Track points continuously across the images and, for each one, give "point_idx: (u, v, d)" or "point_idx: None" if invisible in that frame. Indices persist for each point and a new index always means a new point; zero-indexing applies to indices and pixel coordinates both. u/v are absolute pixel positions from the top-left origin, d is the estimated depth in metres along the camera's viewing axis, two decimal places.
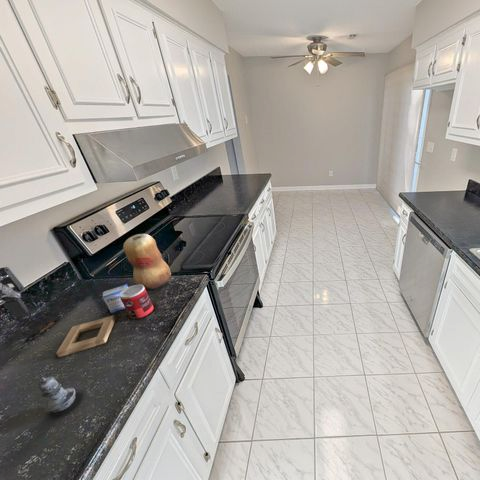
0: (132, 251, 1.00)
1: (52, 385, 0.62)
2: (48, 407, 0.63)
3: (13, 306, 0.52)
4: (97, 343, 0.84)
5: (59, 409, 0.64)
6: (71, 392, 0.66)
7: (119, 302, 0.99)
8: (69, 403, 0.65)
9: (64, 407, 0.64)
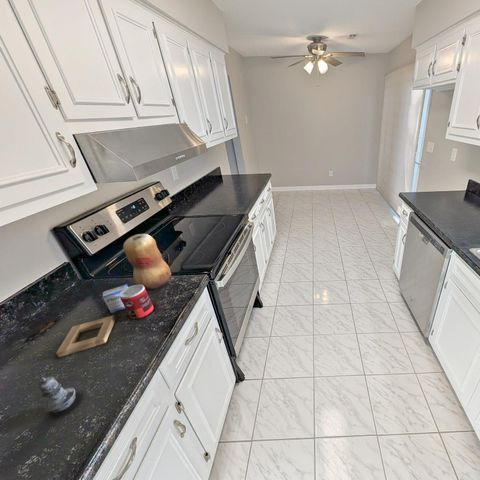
0: (132, 251, 1.00)
1: (52, 385, 0.62)
2: (48, 407, 0.63)
3: None
4: (97, 343, 0.84)
5: (59, 409, 0.64)
6: (71, 392, 0.66)
7: (119, 302, 0.99)
8: (69, 403, 0.65)
9: (64, 407, 0.64)
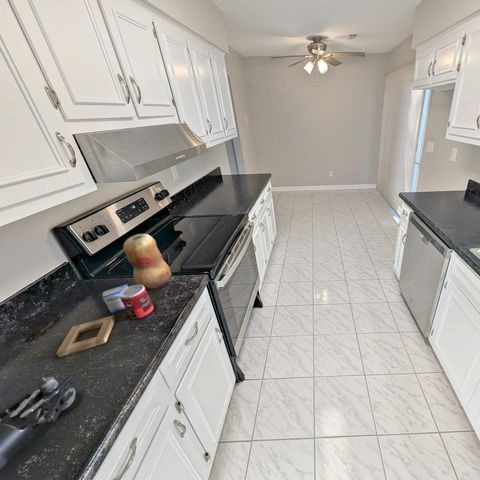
0: (132, 251, 1.00)
1: (52, 385, 0.62)
2: None
3: None
4: (97, 343, 0.84)
5: None
6: (71, 392, 0.66)
7: (119, 302, 0.99)
8: (69, 403, 0.65)
9: (64, 407, 0.64)
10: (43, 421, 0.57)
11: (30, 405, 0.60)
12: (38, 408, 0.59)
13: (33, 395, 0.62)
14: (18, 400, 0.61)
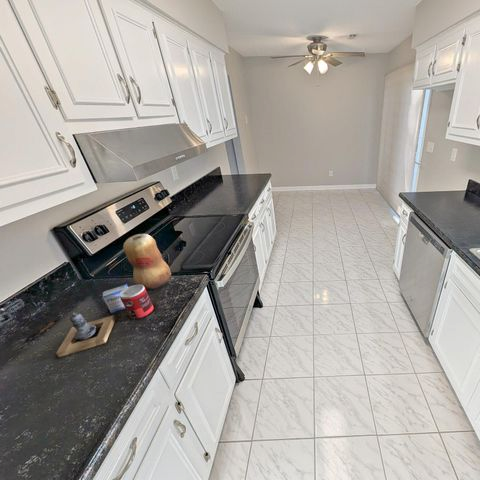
0: (132, 251, 1.00)
1: (80, 319, 0.84)
2: (76, 336, 0.85)
3: None
4: (97, 343, 0.84)
5: (84, 338, 0.85)
6: (93, 327, 0.88)
7: (119, 302, 0.99)
8: (92, 334, 0.87)
9: (88, 337, 0.86)
10: None
11: None
12: None
13: None
14: None
